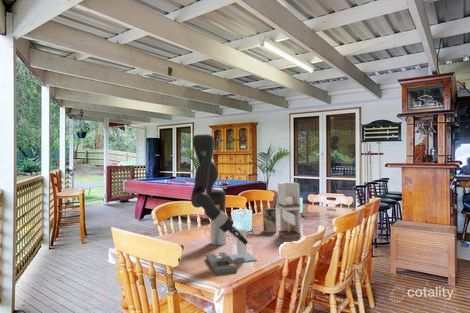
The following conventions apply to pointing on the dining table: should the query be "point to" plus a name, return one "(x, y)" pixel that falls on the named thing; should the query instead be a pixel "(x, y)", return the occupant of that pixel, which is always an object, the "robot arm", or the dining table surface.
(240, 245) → the white tall rectangular block
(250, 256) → the mat
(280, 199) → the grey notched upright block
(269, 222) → the coffee box
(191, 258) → the dining table surface
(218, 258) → the power strip
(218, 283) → the dining table surface
